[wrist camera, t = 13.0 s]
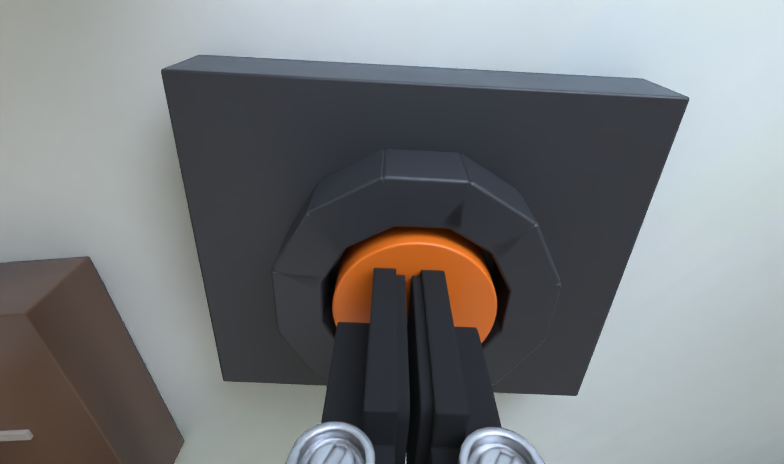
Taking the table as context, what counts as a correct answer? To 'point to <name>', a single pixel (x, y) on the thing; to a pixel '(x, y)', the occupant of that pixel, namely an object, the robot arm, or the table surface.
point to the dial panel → (74, 373)
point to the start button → (418, 274)
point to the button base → (413, 198)
